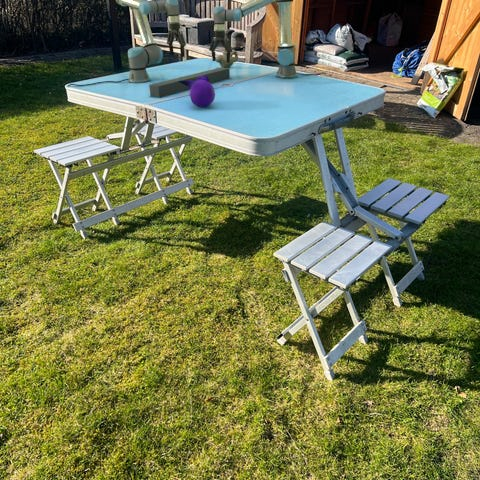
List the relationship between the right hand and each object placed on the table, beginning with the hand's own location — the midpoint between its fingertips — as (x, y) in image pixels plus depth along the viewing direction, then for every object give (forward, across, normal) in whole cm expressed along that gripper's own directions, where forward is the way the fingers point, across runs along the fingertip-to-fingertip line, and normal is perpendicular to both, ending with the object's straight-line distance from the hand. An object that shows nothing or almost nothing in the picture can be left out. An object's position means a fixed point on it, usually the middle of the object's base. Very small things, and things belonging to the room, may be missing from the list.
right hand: (221, 61), depth 335 cm
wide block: (+12, 0, +33) cm, 35 cm away
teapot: (+12, +26, -40) cm, 49 cm away
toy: (+12, -39, +71) cm, 82 cm away
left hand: (-7, +13, +32) cm, 36 cm away
